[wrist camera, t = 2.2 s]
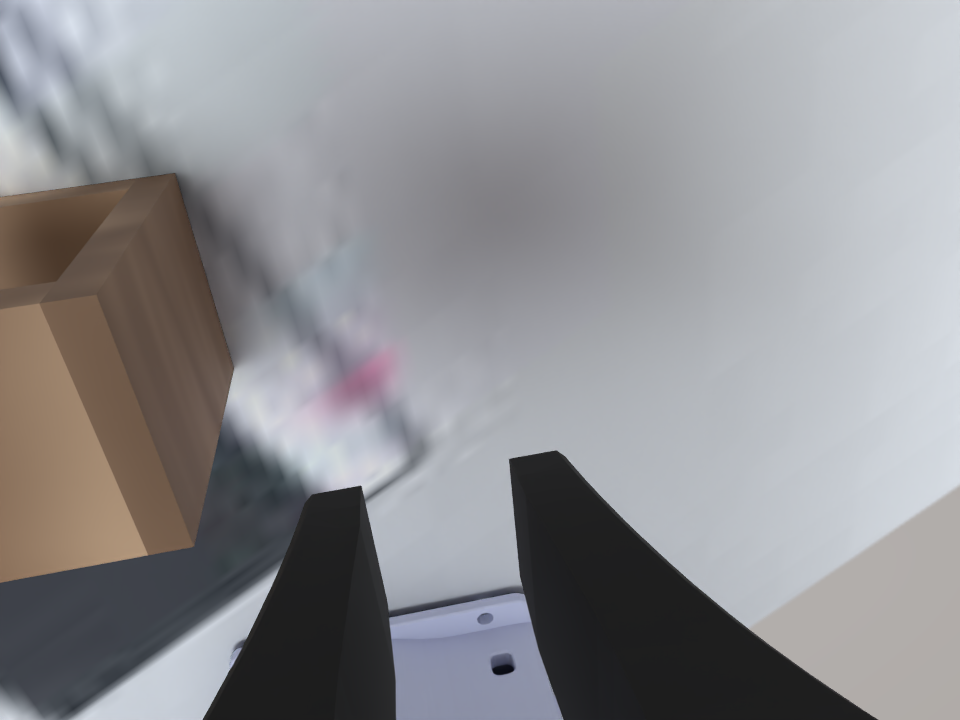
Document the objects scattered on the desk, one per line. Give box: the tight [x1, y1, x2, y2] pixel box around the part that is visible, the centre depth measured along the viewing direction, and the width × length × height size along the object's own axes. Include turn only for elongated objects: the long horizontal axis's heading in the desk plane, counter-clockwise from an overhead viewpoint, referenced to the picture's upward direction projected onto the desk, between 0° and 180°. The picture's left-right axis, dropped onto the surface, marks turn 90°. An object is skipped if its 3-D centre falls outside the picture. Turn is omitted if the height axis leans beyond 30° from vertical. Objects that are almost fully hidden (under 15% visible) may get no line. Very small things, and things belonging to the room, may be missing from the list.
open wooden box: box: [0, 173, 234, 582], centre depth 15 cm, size 4×5×6 cm
